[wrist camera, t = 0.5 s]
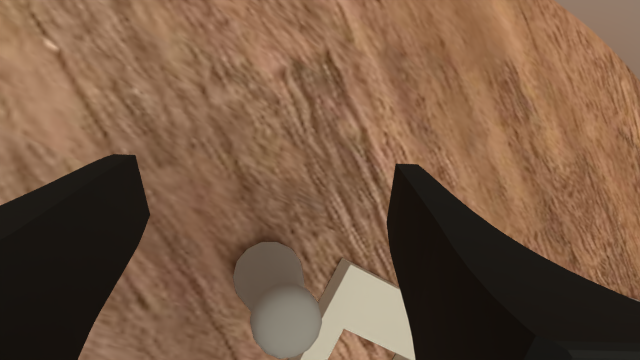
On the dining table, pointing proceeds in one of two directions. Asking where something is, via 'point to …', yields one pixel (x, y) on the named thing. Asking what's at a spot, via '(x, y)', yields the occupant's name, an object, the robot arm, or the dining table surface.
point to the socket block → (361, 313)
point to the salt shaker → (277, 300)
